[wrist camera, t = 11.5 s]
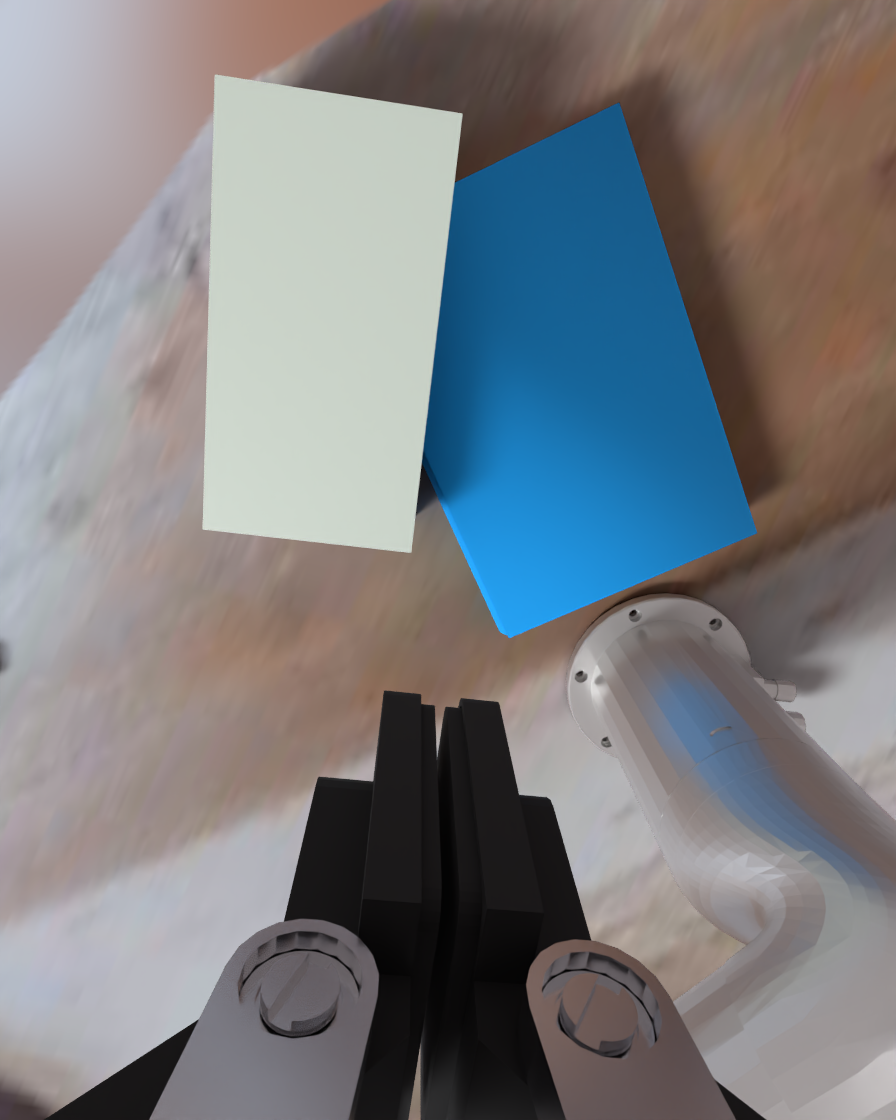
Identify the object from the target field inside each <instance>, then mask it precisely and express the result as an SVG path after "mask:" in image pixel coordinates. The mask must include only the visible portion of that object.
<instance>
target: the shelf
mask: <svg viewBox="0 0 896 1120" xmlns="http://www.w3.org/2000/svg"><path fill="white" fill-rule="evenodd" d="M461 123H462V113H456V112H449V111H443V110H437V109H430V108H424V107H418V106H411V105H405V104H399V103H392V102H386V101H380V100H373V99H367V98H361V97H354V96H348V95H342V94H335V93H329V92H323V91H316V90H310V89H304V88H297V87H291V86H284V85H278V84H272V83H265V82H259V81H253V80H246V79H240V78H233V77H227V76H220V75H215V88H214V125H213V162H212V199H211V237H210V274H209V312H208V349H207V386H206V424H205V461H204V499H203V529H204V530H213V531H222V532H231V533H239V534H248V535H257V536H266V537H275V538H284V539H293V540H302V541H311V542H320V543H329V544H337V545H346V546H355V547H364V548H373V549H382V550H391V551H400V552H409V553H411V549H412V540H413V532H414V523H415V515H416V506H417V498H418V489H419V481H420V472H421V464H422V455H423V447H424V438H425V430H426V421H427V413H428V404H429V396H430V387H431V378H432V370H433V361H434V353H435V344H436V336H437V327H438V319H439V310H440V302H441V293H442V285H443V276H444V268H445V259H446V251H447V242H448V234H449V225H450V217H451V208H452V200H453V191H454V183H455V174H456V166H457V157H458V149H459V140H460V131H461Z"/></svg>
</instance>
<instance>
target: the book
mask: <svg viewBox="0 0 896 1120" xmlns="http://www.w3.org/2000/svg"><path fill="white" fill-rule="evenodd" d="M422 464H423V466H424V468H425V470H426V473H427V475H428V477H429V479H430V481H431V483H432V486H433V488H434V490H435V492H436V494H437V496H438V499H439V501H440V503H441V505H442V507H443V510H444V512H445V514H446V516H447V518H448V520H449V523H450V525H451V527H452V529H453V531H454V533H455V536H456V538H457V540H458V542H459V544H460V547H461V549H462V551H463V553H464V555H465V557H466V560H467V562H468V564H469V566H470V568H471V570H472V573H473V575H474V577H475V579H476V581H477V584H478V586H479V588H480V590H481V592H482V594H483V597H484V599H485V601H486V603H487V605H488V607H489V610H490V612H491V614H492V616H493V618H494V621H495V623H496V625H497V627H498V629H499V631H500V632H501V633H502V634H505V635H508V637H509V638H511V637H513V636H515V635H518V634H520V633H523V632H525V631H527V630H530V629H532V628H534V627H537V626H539V625H541V624H544V623H546V622H549V621H551V620H553V619H556V618H558V617H560V616H563V615H565V614H567V613H570V612H572V611H575V610H577V609H579V608H582V607H584V606H586V605H589V604H591V603H593V602H596V601H598V600H600V599H603V598H605V597H608V596H610V595H612V594H615V593H617V592H619V591H622V590H624V589H626V588H629V587H631V586H634V585H636V584H638V583H641V582H643V581H645V580H648V579H650V578H652V577H655V576H657V575H660V574H662V573H664V572H667V571H669V570H671V569H674V568H676V567H678V566H681V565H683V564H686V563H688V562H690V561H693V560H695V559H697V558H700V557H702V556H704V555H707V554H709V553H712V552H714V551H716V550H719V549H721V548H723V547H726V546H728V545H730V544H733V543H735V542H738V541H740V540H742V539H745V538H747V537H749V536H752V535H754V534H756V533H757V531H756V528H755V525H754V522H753V518H752V515H751V512H750V509H749V506H748V503H747V500H746V497H745V493H744V490H743V487H742V484H741V481H740V478H739V475H738V472H737V468H736V465H735V462H734V459H733V456H732V453H731V450H730V447H729V443H728V440H727V437H726V434H725V431H724V428H723V425H722V422H721V418H720V415H719V412H718V409H717V406H716V403H715V400H714V397H713V394H712V390H711V387H710V384H709V381H708V378H707V375H706V372H705V369H704V365H703V362H702V359H701V356H700V353H699V350H698V347H697V344H696V340H695V337H694V334H693V331H692V328H691V325H690V322H689V319H688V315H687V312H686V309H685V306H684V303H683V300H682V297H681V294H680V290H679V287H678V284H677V281H676V278H675V275H674V272H673V269H672V265H671V262H670V259H669V256H668V253H667V250H666V247H665V244H664V240H663V237H662V234H661V231H660V228H659V225H658V222H657V219H656V216H655V212H654V209H653V206H652V203H651V200H650V197H649V194H648V191H647V187H646V184H645V181H644V178H643V175H642V172H641V169H640V166H639V162H638V159H637V156H636V153H635V150H634V147H633V144H632V141H631V137H630V134H629V131H628V128H627V125H626V122H625V119H624V116H623V112H622V109H621V106H620V103H617V104H615V105H613V106H611V107H609V108H607V109H604V110H602V111H600V112H598V113H596V114H594V115H592V116H590V117H588V118H586V119H584V120H582V121H580V122H578V123H576V124H574V125H572V126H570V127H568V128H566V129H564V130H562V131H560V132H557V133H555V134H553V135H551V136H549V137H547V138H545V139H543V140H541V141H539V142H537V143H535V144H533V145H531V146H529V147H527V148H525V149H523V150H521V151H519V152H517V153H515V154H512V155H510V156H508V157H506V158H504V159H502V160H500V161H498V162H496V163H494V164H492V165H490V166H488V167H486V168H484V169H482V170H480V171H478V172H476V173H474V174H472V175H470V176H467V177H465V178H463V179H461V180H459V181H457V182H455V183H454V191H453V200H452V208H451V217H450V225H449V234H448V242H447V251H446V259H445V268H444V276H443V285H442V293H441V302H440V310H439V319H438V327H437V336H436V344H435V353H434V361H433V370H432V378H431V387H430V396H429V404H428V413H427V421H426V430H425V438H424V447H423V455H422Z"/></svg>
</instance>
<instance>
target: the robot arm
mask: <svg viewBox="0 0 896 1120" xmlns="http://www.w3.org/2000/svg"><path fill="white" fill-rule="evenodd" d="M632 610H635V611H634V613H633V614H629V613H630V612H631V611H632ZM713 619H714V620H713ZM711 620H713V621H712V622H710V621H711ZM579 671H582V672H581V673H579V674H577V672H579ZM796 692H797V691H796V686H795V684H794V683H793V682H791V681H783V680H764V679H763V678H762V677H761V676H760V675H759V674H758V673H757V672H756V671H755V670H754V669H753V668H752V667H751V663H750V656H749V653H748V650H747V646H746V643H745V641H744V640H743V638H742V636H741V634H740V633H739V631H738V629H737V628H736V627H735V626H734V625H733V624H732V623H731V622H730V621H729V620H728V618H727V617H725V616H724V615H723V614H722V613H721V612H719V611H718V610H717V609H716V608H714V607H712V606H711V605H709V604H707V603H705V602H703V601H702V600H699V599H696V598H692V597H689V596H686V595H679V594H670V593H663V594H649V595H645V596H642V597H638V598H634V599H631V600H628V601H626V602H624V603H622V604H619V605H617V606H615V607H614V608H612V609H611V610H609V611H608V612H606V613H605V614H603V615H602V616H600V617H599V618H598V619H597V620H596V621H595V622H594V623H593V624H592V625H591V626H590V627H589V628H588V629H587V630H586V631H585V633H584V634H583V636H582V637H581V638H580V640H579V641H578V643H577V645H576V647H575V649H574V651H573V653H572V655H571V657H570V661H569V665H568V669H567V673H566V693H567V699H568V705H569V707H570V710H571V712H572V715H573V718H574V720H575V721H576V723H577V725H578V727H579V729H580V731H581V732H582V733H583V734H584V735H585V736H586V738H587V739H588V740H589V741H590V742H591V743H592V744H593V745H595V746H596V747H597V748H598V749H600V750H601V751H603V752H605V753H607V754H609V755H611V756H613V757H615V758H617V759H618V760H619V762H620V764H621V767H622V769H623V771H624V773H625V775H626V777H627V779H628V781H629V784H630V786H631V788H632V790H633V792H634V794H635V796H636V799H637V801H638V803H639V805H640V807H641V809H642V811H643V814H644V816H645V818H646V820H647V822H648V824H649V826H650V828H651V831H652V833H653V835H654V837H655V839H656V841H657V843H658V846H659V848H660V850H661V852H662V854H663V856H664V858H665V861H666V863H667V865H668V867H669V869H670V872H671V874H672V876H673V878H674V880H675V882H676V883H677V885H678V887H679V888H680V890H681V892H682V893H683V895H684V896H685V897H686V899H687V900H688V901H689V902H690V903H691V905H692V906H693V907H694V908H695V909H696V910H697V911H698V912H699V913H700V914H701V915H702V916H703V917H705V918H706V919H707V920H708V921H709V922H710V923H712V924H713V925H714V926H715V927H717V928H718V929H720V930H721V931H723V932H724V933H726V934H728V935H729V936H731V937H733V938H735V939H736V940H738V941H740V942H742V943H744V944H746V946H745V947H744V948H742V949H741V950H740V951H739V952H737V953H736V954H735V955H733V956H732V957H731V958H729V959H728V960H727V961H726V963H725V964H724V965H723V966H721V967H720V968H719V969H717V970H716V971H715V972H713V973H712V974H710V975H709V976H708V977H706V978H705V979H704V980H702V981H701V982H700V983H698V984H697V985H695V986H694V987H693V988H691V989H690V990H689V991H687V992H686V993H684V994H683V995H682V996H680V997H679V998H678V999H676V1000H675V1001H672V1000H671V998H670V996H669V994H668V993H667V992H666V990H665V989H664V987H663V986H662V985H661V983H660V982H659V980H658V979H657V977H656V976H655V975H654V974H653V973H651V972H650V971H649V970H648V969H647V968H646V967H645V966H644V965H643V964H641V963H640V962H639V961H638V960H637V959H635V958H633V957H631V956H630V955H628V954H626V953H625V952H623V951H621V950H619V949H618V948H615V947H612V946H609V945H606V944H603V943H600V942H597V941H591V938H590V934H589V931H588V927H587V924H586V920H585V917H584V913H583V910H582V906H581V903H580V899H579V896H578V892H577V889H576V885H575V882H574V878H573V875H572V871H571V867H570V864H569V860H568V857H567V853H566V850H565V846H564V843H563V839H562V836H561V832H560V829H559V825H558V822H557V818H556V815H555V811H554V808H553V805H552V803H551V800H550V799H548V798H547V797H536V796H525V795H519V793H518V789H517V784H516V779H515V775H514V770H513V765H512V761H511V756H510V752H509V747H508V742H507V738H506V733H505V728H504V724H503V719H502V714H501V710H500V705H499V703H498V702H493V701H483V700H473V699H463V698H461V700H460V702H459V706H458V708H454V707H446V708H445V711H444V717H443V724H442V730H441V737H440V744H439V751H438V758H437V751H436V726H435V706H434V705H424V704H421V694H414V693H404V692H394V691H384V695H383V703H382V712H381V720H380V729H379V737H378V746H377V754H376V763H375V771H374V780H373V782H371V781H361V780H350V779H339V778H328V777H318V779H317V783H316V787H315V791H314V795H313V800H312V804H311V808H310V812H309V817H308V821H307V825H306V829H305V834H304V838H303V842H302V847H301V851H300V855H299V859H298V864H297V868H296V872H295V876H294V881H293V885H292V889H291V894H290V898H289V902H288V906H287V911H286V915H285V919H284V922H279V923H276V924H274V925H272V926H270V927H267V928H265V929H263V930H261V931H258V932H257V933H255V934H254V935H253V936H252V937H250V938H249V939H248V940H247V941H245V942H244V943H243V944H241V945H240V946H239V947H238V949H237V950H236V952H235V953H234V954H233V956H232V957H231V959H230V960H229V961H228V963H227V964H226V966H225V968H224V970H223V972H222V974H221V976H220V978H219V980H218V982H217V984H216V986H215V988H214V990H213V992H212V994H211V996H210V998H209V1000H208V1002H207V1004H206V1006H205V1008H204V1010H203V1012H202V1014H201V1016H200V1018H199V1020H197V1021H196V1022H194V1023H192V1024H191V1025H189V1026H188V1027H186V1028H185V1029H183V1030H182V1031H180V1032H179V1033H177V1034H176V1035H174V1036H172V1037H171V1038H169V1039H168V1040H166V1041H165V1042H163V1043H162V1044H160V1045H159V1046H157V1047H156V1048H154V1049H152V1050H151V1051H149V1052H148V1053H146V1054H145V1055H143V1056H142V1057H140V1058H139V1059H137V1060H135V1061H134V1062H132V1063H131V1064H129V1065H128V1066H126V1067H125V1068H123V1069H122V1070H120V1071H119V1072H117V1073H115V1074H114V1075H112V1076H111V1077H109V1078H108V1079H106V1080H105V1081H103V1082H102V1083H100V1084H99V1085H97V1086H95V1087H94V1088H92V1089H91V1090H89V1091H88V1092H86V1093H85V1094H83V1095H82V1096H80V1097H79V1098H77V1099H75V1100H74V1101H72V1102H71V1103H69V1104H68V1105H66V1106H65V1107H63V1108H62V1109H60V1110H59V1111H57V1112H55V1113H54V1114H52V1115H51V1116H49V1117H48V1118H46V1119H45V1120H408V1118H409V1111H410V1105H411V1099H412V1093H413V1086H414V1080H415V1074H416V1068H417V1062H418V1055H419V1049H420V1043H421V1120H896V821H895V820H894V819H893V818H892V817H891V816H890V815H889V814H888V813H887V812H886V811H885V810H884V809H883V808H882V807H881V806H880V805H878V804H877V803H876V802H875V801H874V800H873V799H872V798H871V797H870V796H869V795H868V794H867V793H866V792H865V791H864V790H863V789H862V788H861V787H860V786H859V785H858V784H857V783H856V782H855V781H854V780H853V779H852V778H851V777H850V776H849V775H848V774H847V773H846V772H845V771H844V770H843V769H842V768H841V767H840V766H839V765H838V764H837V763H836V762H835V761H834V760H833V759H832V758H831V757H830V756H829V755H828V754H827V753H826V752H825V751H824V750H823V749H822V748H821V747H820V746H819V745H818V744H817V743H816V742H815V741H814V740H813V739H812V738H811V737H810V736H809V735H808V734H807V732H806V724H805V719H804V717H803V716H802V714H800V713H798V712H790V711H785V710H784V709H783V708H782V707H781V706H780V705H779V704H778V703H777V702H776V701H783V702H792V701H794V699H795V697H796ZM604 737H605V738H604Z"/></svg>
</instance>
